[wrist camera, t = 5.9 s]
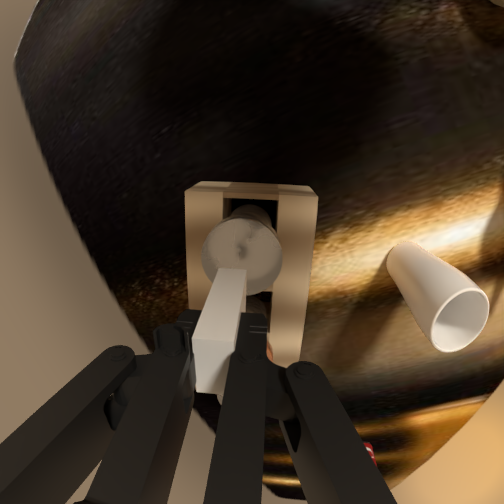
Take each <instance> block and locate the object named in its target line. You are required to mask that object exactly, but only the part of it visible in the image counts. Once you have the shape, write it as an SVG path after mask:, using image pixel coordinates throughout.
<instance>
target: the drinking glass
mask: <svg viewBox="0 0 504 504" xmlns="http://www.w3.org/2000/svg"><path fill="white" fill-rule="evenodd" d="M386 264H387V271H388V273H389V275H390V276H391V278H392V279H393V280H394V282H395V283H396V285H397V287H398V289H399V291H400V292H401V294H402V296H403V298H404V300H405V302H406V304H407V305H408V307H409V309H410V311H411V313H412V315H413V317H414V319H415V320H416V322H417V324H418V326H419V327H420V329H421V330H422V332H423V333H424V334H425V336H426V337H427V338H428V340H429V341H430V342H431V344H432V345H433V346H434V347H435V348H436V349H437V350H439V351H441V352H455V351H458V350H460V349H462V348H464V347H466V346H467V345H469V344H470V343H471V342H472V341H473V340H474V339H475V338H476V337H477V336H478V335H479V334H480V332H481V331H482V329H483V328H484V326H485V324H486V321H487V318H488V315H489V300H488V298H487V295H486V294H485V293H484V292H483V291H482V290H481V289H480V288H479V287H478V286H477V285H476V284H475V283H474V282H473V281H472V280H471V279H470V278H469V277H467V276H466V275H465V274H464V273H462V272H461V271H460V270H458V269H456V268H455V267H453V266H452V265H450V264H448V263H447V262H445V261H443V260H442V259H440V258H438V257H437V256H435V255H433V254H432V253H430V252H428V251H427V250H425V249H424V248H422V247H421V246H420V245H418V244H417V243H415V242H412V241H404V242H401V243H399V244H397V245H396V246H395V247H394V248H393V249H392V250H391V251H390V253H389V255H388V257H387V263H386Z"/></svg>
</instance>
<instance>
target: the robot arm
mask: <svg viewBox="0 0 504 504" xmlns="http://www.w3.org/2000/svg"><path fill="white" fill-rule="evenodd" d="M246 282H247V270H246V269H229V268H219V269H218V272H217V274H216V277H215V279H214V282H213V284H212V287H211V289H210V292H209V295H208V297H207V300H206V302H205V305H204V308H203V310H194V309H186V310H185V311H183V312H182V313H181V314H180V315H179V317H178V319H177V322H176V323H175V324H164V325H160V326H158V327H156V328H155V329H154V330H153V336H154V343H155V351H154V353H152V354H147V355H135V354H134V351H133V350H132V349H131V348H129V347H127V346H123V345H118V346H113V347H109V348H108V349H106V350H105V351H103V352H102V353H101V354H100V355H99V356H98V357H97V358H96V359H94V360H93V361H92V362H91V363H90V364H89V365H87V366H86V367H85V368H84V369H83V370H82V371H81V372H80V373H78V374H77V375H76V376H75V377H74V378H73V379H72V380H70V381H69V382H68V383H67V384H66V385H65V386H64V387H63V388H61V389H60V390H59V391H58V392H57V393H56V394H55V395H54V396H53V397H51V398H50V399H49V400H48V401H47V402H46V403H45V404H44V405H43V406H41V407H40V408H39V409H38V410H37V411H36V412H35V413H34V414H33V415H32V416H30V417H29V418H28V419H27V420H26V421H25V422H24V423H23V424H22V425H21V426H19V427H18V428H17V429H16V430H15V431H14V432H13V433H12V434H11V435H10V436H9V437H7V438H6V439H5V440H4V441H3V442H2V443H1V444H0V504H65V503H66V502H67V501H68V499H69V498H70V497H71V496H72V495H73V493H74V492H75V491H76V490H77V489H78V488H79V486H80V485H81V484H82V483H83V482H84V480H85V479H86V478H87V477H88V476H89V474H90V473H91V472H92V471H93V469H94V468H95V467H96V466H97V465H98V463H99V462H100V461H101V460H102V461H101V464H100V466H99V468H98V470H97V473H96V475H95V477H94V480H93V482H92V484H91V486H90V489H89V491H88V493H87V495H86V497H85V499H84V500H83V501H79V502H74V503H73V504H167V501H168V497H169V494H170V489H171V486H172V482H173V478H174V474H175V470H176V466H177V463H178V459H179V455H180V451H181V448H182V444H183V440H184V436H185V433H186V429H187V425H188V422H189V418H190V414H191V411H192V407H193V403H194V392H193V391H194V388H195V384H196V392H202V393H211V394H221V395H223V400H222V405H221V411H220V416H219V421H218V427H217V432H216V437H215V443H214V448H213V454H212V459H211V464H210V470H209V475H208V481H207V487H206V491H205V497H204V502H203V504H261V495H262V475H263V454H264V431H265V416H268V417H272V418H275V419H278V420H279V423H280V426H281V429H282V432H283V435H284V438H285V441H286V444H287V447H288V449H289V452H290V455H291V458H292V461H293V464H294V467H295V469H296V472H297V475H298V478H299V481H300V483H301V486H302V489H303V492H304V494H305V497H306V500H307V502H308V504H397V502H396V501H395V499H394V497H393V495H392V493H391V491H390V490H389V488H388V486H387V484H386V482H385V481H384V479H383V477H382V475H381V474H380V472H379V470H378V468H377V466H376V465H375V463H374V461H373V459H372V457H371V456H370V454H369V452H368V450H367V449H366V447H365V445H364V443H363V441H362V440H361V438H360V436H359V434H358V433H357V431H356V429H355V427H354V425H353V424H352V422H351V420H350V418H349V417H348V415H347V413H346V411H345V409H344V408H343V406H342V404H341V402H340V401H339V399H338V397H337V395H336V394H335V392H334V390H333V388H332V386H331V385H330V383H329V381H328V379H327V378H326V376H325V374H324V372H323V371H322V369H321V368H320V367H319V366H318V365H316V364H314V363H311V362H307V361H298V362H295V363H292V364H291V365H289V366H288V367H287V368H285V367H282V366H279V365H276V364H274V363H273V362H271V361H270V360H269V358H268V357H267V318H266V317H265V316H264V314H262V313H245V312H246ZM111 394H112V395H111ZM110 395H111V396H110ZM109 396H110V397H109Z"/></svg>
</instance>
